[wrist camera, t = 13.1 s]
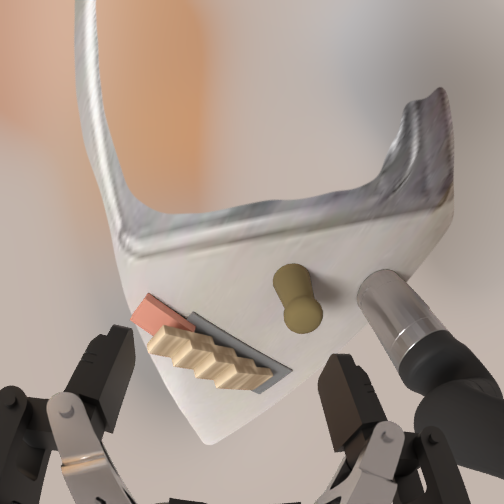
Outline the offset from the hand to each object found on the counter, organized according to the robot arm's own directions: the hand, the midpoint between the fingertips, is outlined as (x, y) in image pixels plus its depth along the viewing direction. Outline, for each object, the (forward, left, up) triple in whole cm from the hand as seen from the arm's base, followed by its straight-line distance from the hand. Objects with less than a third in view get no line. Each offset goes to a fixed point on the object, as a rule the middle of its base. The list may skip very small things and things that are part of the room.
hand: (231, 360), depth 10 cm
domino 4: (-7, +33, -29) cm, 44 cm away
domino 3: (-3, +30, -29) cm, 42 cm away
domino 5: (-11, +35, -29) cm, 47 cm away
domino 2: (+1, +28, -29) cm, 40 cm away
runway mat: (-4, +31, -30) cm, 43 cm away
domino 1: (+5, +26, -29) cm, 39 cm away
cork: (-11, +12, -30) cm, 34 cm away
